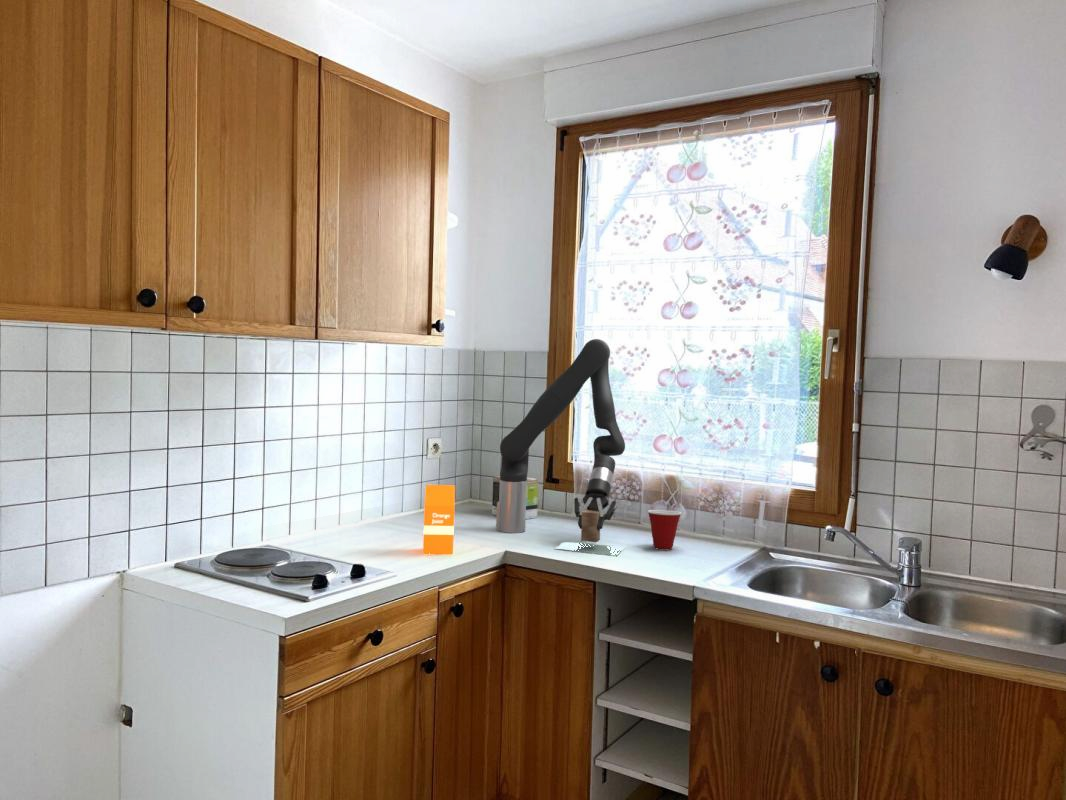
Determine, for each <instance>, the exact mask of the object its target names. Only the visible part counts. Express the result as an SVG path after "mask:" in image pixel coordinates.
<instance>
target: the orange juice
mask: <svg viewBox="0 0 1066 800" xmlns="http://www.w3.org/2000/svg"><path fill="white" fill-rule="evenodd" d="M455 490H456V485H452V484H450V485H449V484H443V485H442V484H426V485H425V491H424V493H425V495H424V508H423V509H424V513H423V515H424V516H423V540H422V541H423V544H422V545H423V546H422V555H423V554H429V553H430V554H453V555H454V532H455V501H456V500H455V498H456V497H455V495H456V493H455V492H456V491H455Z"/></svg>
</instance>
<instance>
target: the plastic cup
mask: <svg viewBox="0 0 1066 800" xmlns="http://www.w3.org/2000/svg"><path fill="white" fill-rule="evenodd" d="M646 512H647V513H648V516H649V520H650V521H649V522H650V528H651V529H650V530H651V537H652V542H653V544H652V545H653V548H654V547H655V548H654V549H656V548H658V549H657V550H659V549H671V550H672V549H673V547H674V542H675V538H676V534H677V529H678V526H679V525H678V524H679V522H680V518H681V515H682V513H683V512H681V511H677V510H667V509H666V510H665V509H649V510H647V511H646Z"/></svg>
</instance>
